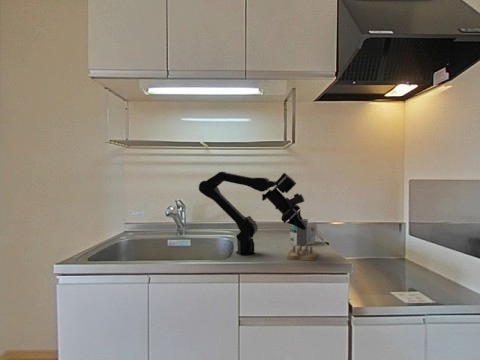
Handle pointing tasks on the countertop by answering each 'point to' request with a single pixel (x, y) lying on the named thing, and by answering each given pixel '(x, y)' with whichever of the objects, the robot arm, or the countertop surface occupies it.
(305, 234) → the block
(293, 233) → the light bulb box
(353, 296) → the countertop surface
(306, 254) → the wooden peg board
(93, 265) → the countertop surface
